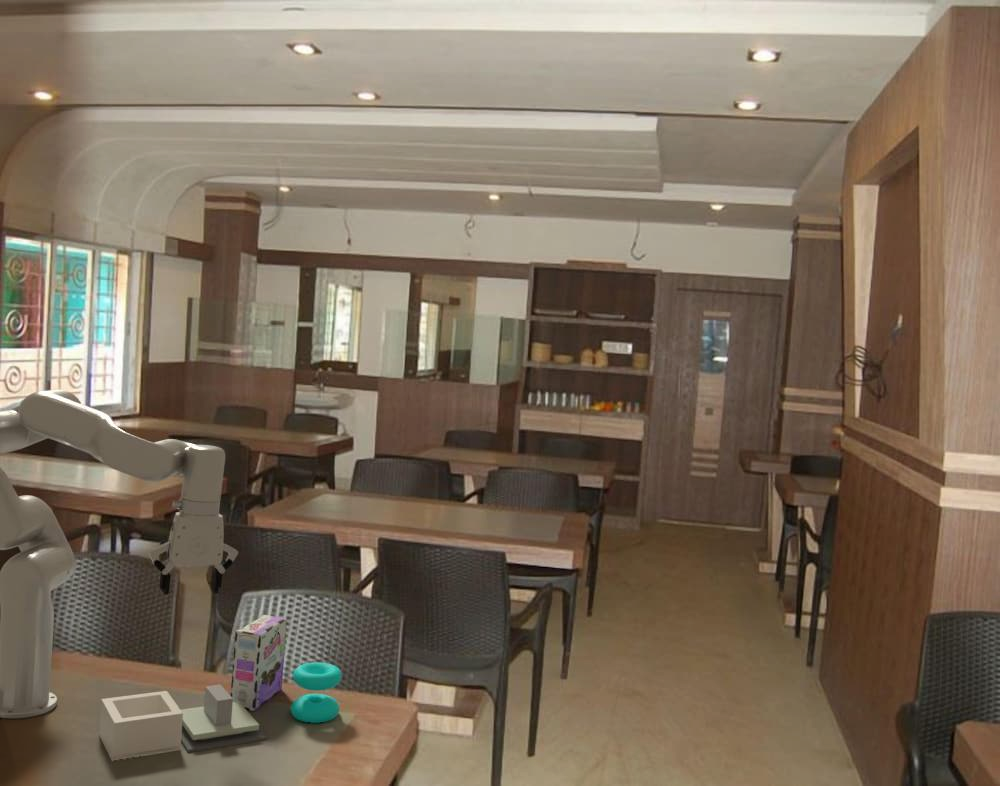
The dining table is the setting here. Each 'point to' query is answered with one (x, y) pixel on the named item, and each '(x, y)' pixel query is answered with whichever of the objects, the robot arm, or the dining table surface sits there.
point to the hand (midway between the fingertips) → (189, 592)
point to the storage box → (140, 725)
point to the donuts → (316, 705)
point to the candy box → (258, 661)
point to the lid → (217, 716)
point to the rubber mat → (219, 740)
